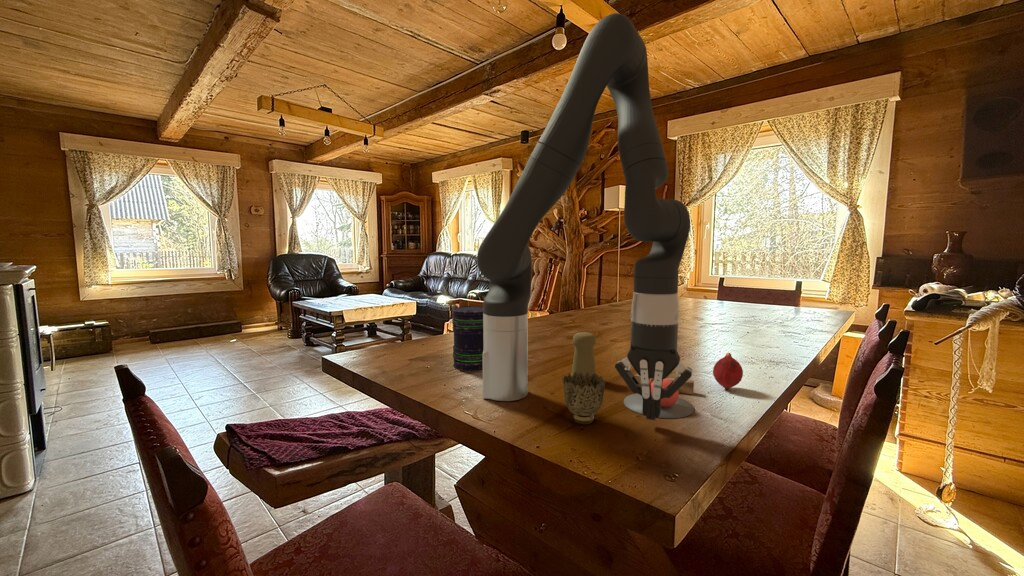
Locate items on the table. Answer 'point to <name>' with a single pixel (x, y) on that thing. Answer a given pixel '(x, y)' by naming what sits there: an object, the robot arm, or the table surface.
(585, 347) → the pestle
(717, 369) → the onion
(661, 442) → the table surface
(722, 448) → the table surface
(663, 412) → the gray disc
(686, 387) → the stopper rail
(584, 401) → the cup
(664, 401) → the ball
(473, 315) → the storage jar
